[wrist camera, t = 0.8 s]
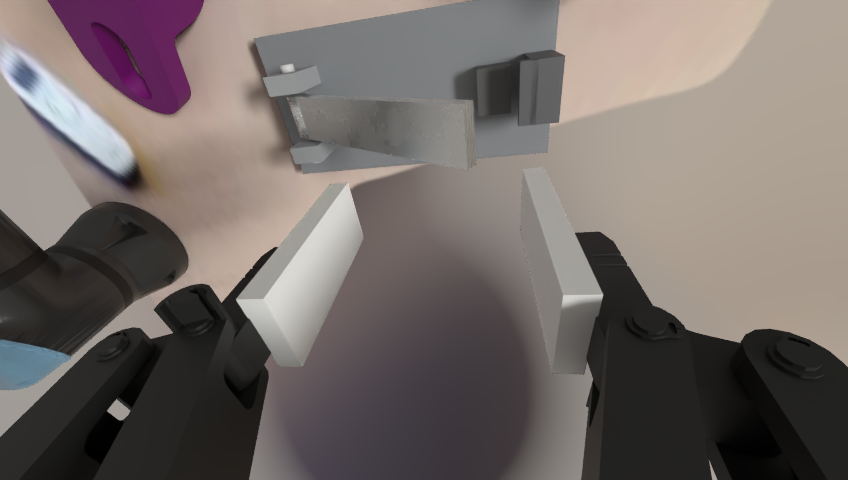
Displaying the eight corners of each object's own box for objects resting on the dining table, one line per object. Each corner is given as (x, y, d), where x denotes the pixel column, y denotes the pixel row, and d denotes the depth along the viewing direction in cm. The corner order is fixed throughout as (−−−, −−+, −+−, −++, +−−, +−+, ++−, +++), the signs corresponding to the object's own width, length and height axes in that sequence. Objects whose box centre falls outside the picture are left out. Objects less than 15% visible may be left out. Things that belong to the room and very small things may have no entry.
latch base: (310, 167, 41) (283, 192, 35) (264, 37, 33) (220, 42, 27) (543, 146, 36) (557, 171, 30) (555, -14, 28) (576, -20, 22)
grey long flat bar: (313, 133, 34) (298, 138, 33) (299, 92, 32) (283, 97, 31) (479, 162, 21) (463, 172, 20) (477, 98, 19) (458, 106, 18)
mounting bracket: (231, 85, 42) (193, -90, 27) (189, 127, 38) (116, -50, 22) (155, 47, 40) (69, -162, 25) (103, 87, 36) (-39, -133, 21)
